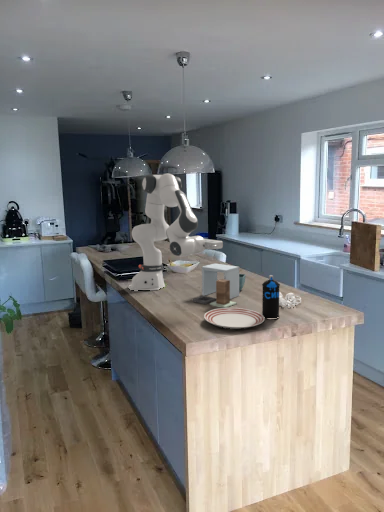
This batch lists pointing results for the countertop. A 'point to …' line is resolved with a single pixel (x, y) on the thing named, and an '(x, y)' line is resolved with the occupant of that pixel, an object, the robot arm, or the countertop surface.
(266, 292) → the aerosol can
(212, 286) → the tunnel
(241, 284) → the flower pot
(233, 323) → the dinner plate
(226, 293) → the walnut block
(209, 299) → the trap pit
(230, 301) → the tile
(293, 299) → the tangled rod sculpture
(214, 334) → the countertop surface
